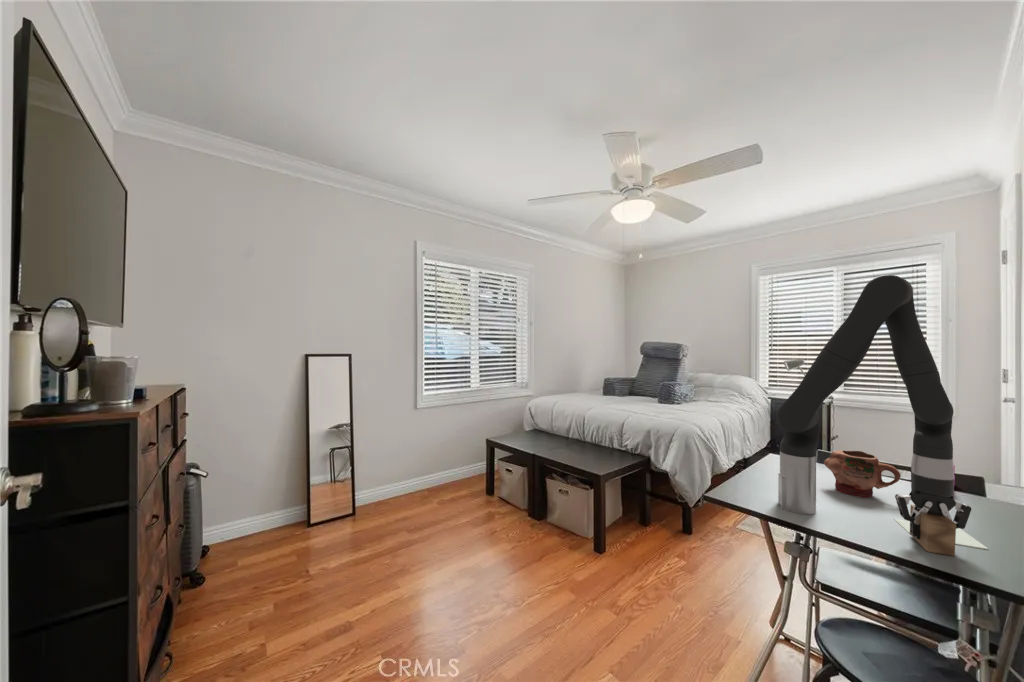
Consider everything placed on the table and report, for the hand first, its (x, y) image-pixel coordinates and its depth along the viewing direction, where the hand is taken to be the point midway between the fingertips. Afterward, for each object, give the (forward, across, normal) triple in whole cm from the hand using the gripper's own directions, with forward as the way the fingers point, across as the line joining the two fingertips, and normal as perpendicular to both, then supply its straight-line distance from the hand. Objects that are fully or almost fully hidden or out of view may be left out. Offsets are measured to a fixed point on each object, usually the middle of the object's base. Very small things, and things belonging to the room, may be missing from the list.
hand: (931, 539), depth 102 cm
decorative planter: (+2, -3, +37) cm, 37 cm away
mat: (+2, +5, +10) cm, 11 cm away
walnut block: (+1, 0, 0) cm, 1 cm away
